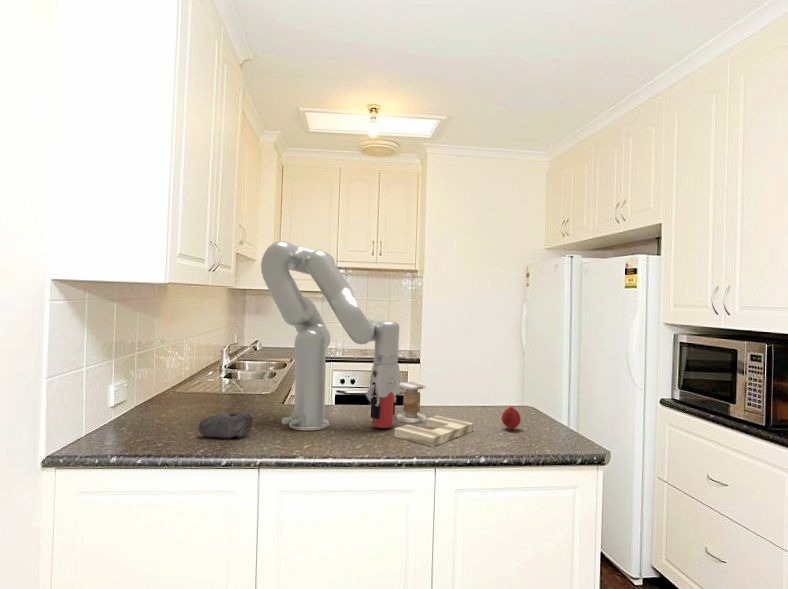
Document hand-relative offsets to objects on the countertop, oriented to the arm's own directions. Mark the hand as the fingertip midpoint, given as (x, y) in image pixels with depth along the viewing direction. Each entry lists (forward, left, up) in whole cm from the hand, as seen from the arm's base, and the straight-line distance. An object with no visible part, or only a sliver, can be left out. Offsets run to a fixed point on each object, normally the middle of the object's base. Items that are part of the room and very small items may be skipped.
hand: (382, 415), depth 153 cm
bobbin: (+16, 0, -4) cm, 16 cm away
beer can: (0, 0, -3) cm, 3 cm away
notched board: (+7, -16, -4) cm, 17 cm away
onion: (+28, -31, -4) cm, 41 cm away
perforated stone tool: (-39, +26, -4) cm, 48 cm away
